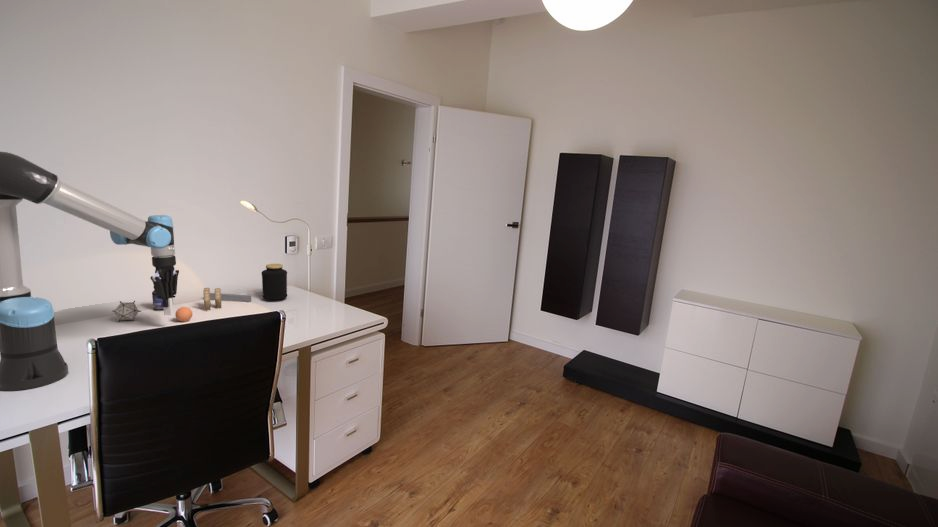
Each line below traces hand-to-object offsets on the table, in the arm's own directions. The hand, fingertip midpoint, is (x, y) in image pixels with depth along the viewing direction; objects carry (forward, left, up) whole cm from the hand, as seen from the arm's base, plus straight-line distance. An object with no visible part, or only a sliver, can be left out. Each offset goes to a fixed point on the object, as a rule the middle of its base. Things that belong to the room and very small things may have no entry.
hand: (168, 314), depth 172 cm
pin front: (+25, 0, -6) cm, 26 cm away
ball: (+9, 0, -3) cm, 10 cm away
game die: (+6, +22, -6) cm, 23 cm away
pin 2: (+29, -2, -6) cm, 30 cm away
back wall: (+42, 0, -6) cm, 43 cm away
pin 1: (+29, +3, -6) cm, 30 cm away
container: (+48, -20, -6) cm, 53 cm away
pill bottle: (+23, +20, -6) cm, 31 cm away
